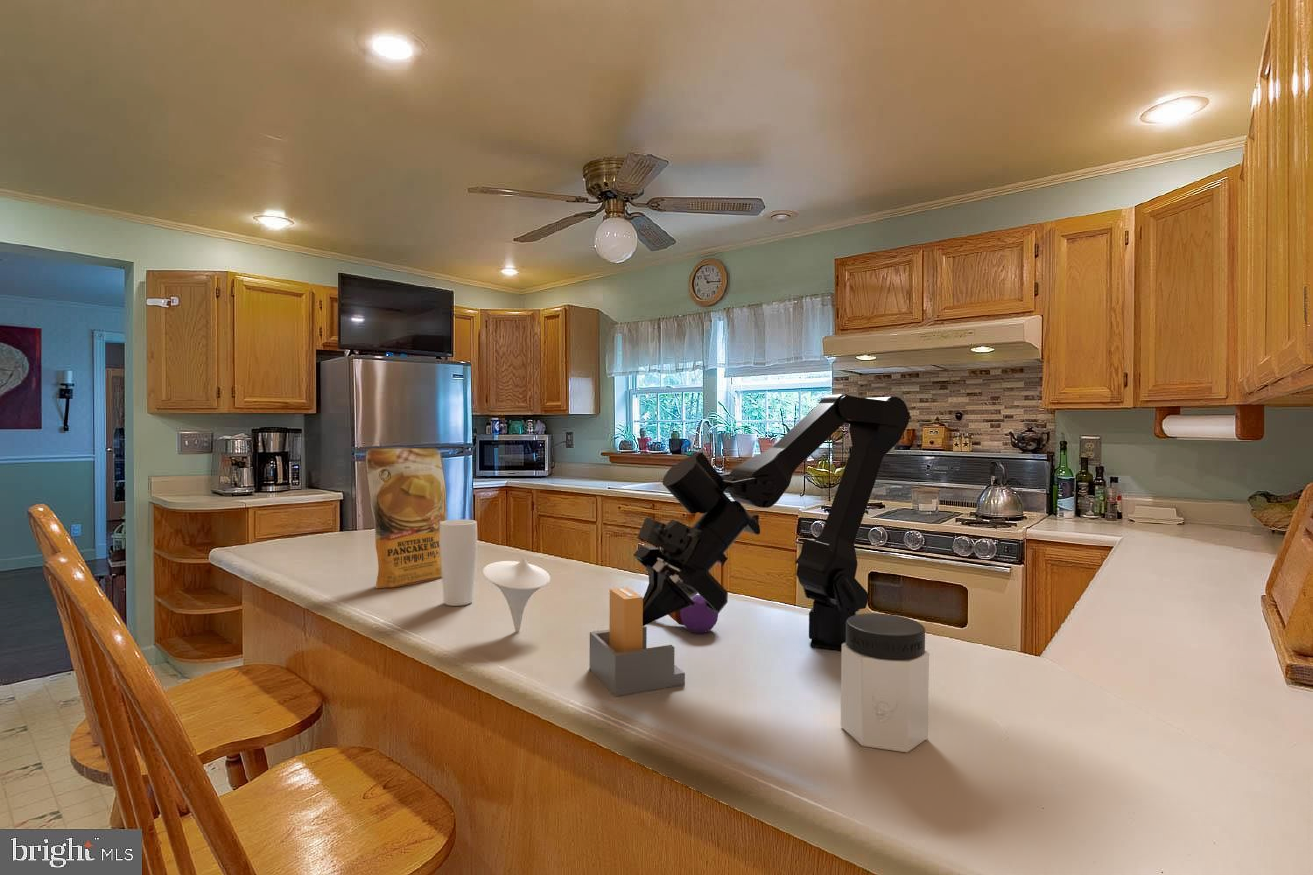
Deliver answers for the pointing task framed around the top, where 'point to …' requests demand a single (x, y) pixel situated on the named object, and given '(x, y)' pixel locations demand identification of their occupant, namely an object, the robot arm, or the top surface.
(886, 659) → the jar
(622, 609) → the breaker toggle
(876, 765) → the top surface
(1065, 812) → the top surface
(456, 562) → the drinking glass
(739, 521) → the robot arm
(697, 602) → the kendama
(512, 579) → the white spinning top
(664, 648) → the base
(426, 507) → the pancake mix bag
